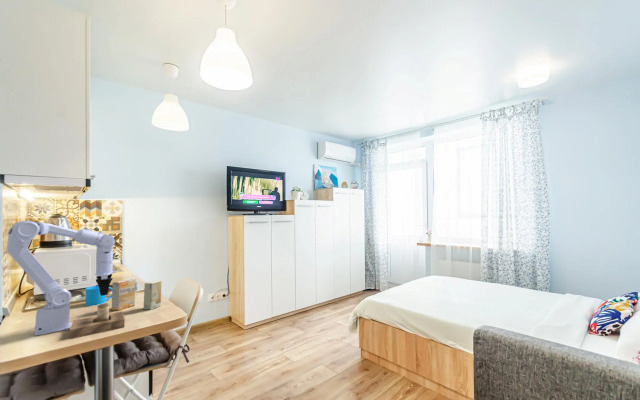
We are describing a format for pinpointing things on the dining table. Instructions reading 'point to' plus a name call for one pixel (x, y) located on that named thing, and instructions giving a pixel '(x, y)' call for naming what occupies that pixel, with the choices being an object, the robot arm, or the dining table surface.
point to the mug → (95, 296)
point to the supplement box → (123, 294)
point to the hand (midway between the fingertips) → (104, 293)
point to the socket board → (96, 325)
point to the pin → (103, 312)
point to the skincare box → (152, 295)
